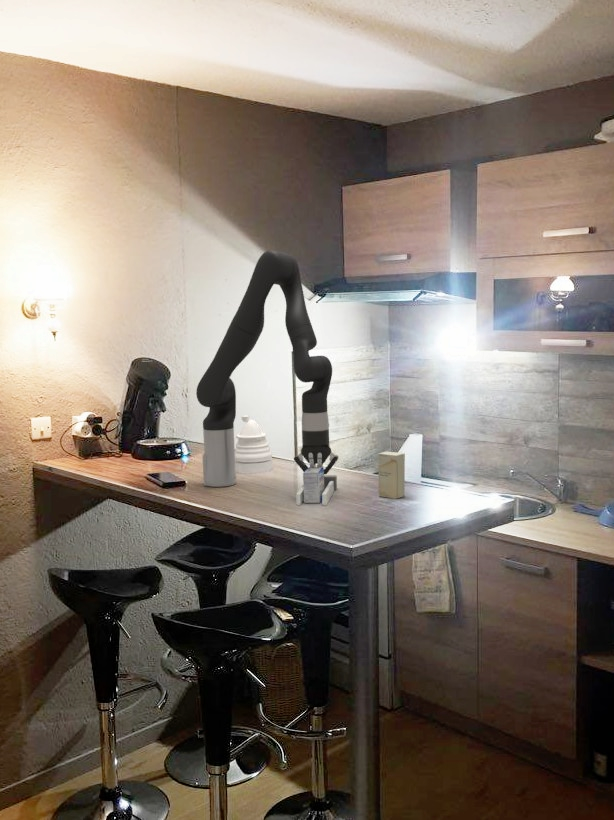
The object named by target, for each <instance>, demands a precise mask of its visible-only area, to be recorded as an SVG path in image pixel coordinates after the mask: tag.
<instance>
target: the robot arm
mask: <svg viewBox="0 0 614 820" xmlns="http://www.w3.org/2000/svg"><path fill="white" fill-rule="evenodd" d="M274 285H276V286H277V285H278V286H279V287H280V289H281V291H282V294H283V295H284V299H285V304H286V306H285V322H284V323H285V329H286V332H287V336H288V337H289V340H290V344H291V346H292V359H293V371H294V374H295V377H296V378H297V379H298V380H299V381H300V382H302V383H312V386H311V388H310V389H308V390H306V391H304V392H302V395H301V409H302V410H301V441H302V442H301V443H302V444H301V446H302V447H301V449H300V453H299V454H297V455H295V456H294V457H293V461H294V462H295V463H296V464H297V465H298V467H299V468H300V469H301V470H302V472H303V473H304V472H305V471H306V470H307V469H308V468H309V467H323V468H324V463H325V462H326V460H327V459H328V458H329V461H330V462H329V463H328V464H327V466H326V467H325V468H324V475H327V474H328V473H329V471H331V469H332V468H333V466H334V465H335V464H336V462H337V461H338V460H339V455H337V454H335V453H333V452H332V448H331V447H330V428H329V427H330V422H329V413H328V393H329V391H330V385H331V381H332V376H333V365H332V363H331V361H330V359H329V358H328V357H327V356H325V355H313V356H310V353H309V351H312V350H313V349H314V348H315V347H316V346H317V344H318V340H317V337H316V334H315V331H314V329H313V325H312V323H311V320H310V316H309V314H308V310H307V305H306V301H305V294H304V291H303V285H302V278H301V273H300V267H299V264H298V261H297V260H296V258H295V257H294V256H293V255H291V254H289V253H286V252H282V251H278V250H272V249H269V250H266V251H264V252H263V253H262V254H261V255H260V257H259V258H258V260H257V261H256V264H255V267H254V269H253V272H252V275H251V277H250V280H249V283H248V285H247V288H246V291H245V292H244V295H243V297H242V299H241V302H240V304H239V306H238V308H237V311H236V312H235V314H234V316H233V318H232V320H231V322H230V324H229V325H228V328H227V331H226V333H225V334H224V337H223V339H222V341H221V343H220V345H219V347H218V349H217V351H216V353H215V355H214V357H213V359H212V361H211V363H210V364H209V366H208V368H207V369H206V370H205V372H204V373H203V375H202V376H201V378H200V380H199V382H198V384H197V386H196V390H195V391H196V399H197V401H198V403H199V404H200V405H201V406H203V407H205V408H209V410H208V414H207V415H206V417H204V419H203V421H202V428H203V429H202V431H203V450H204V451H203V454H202V473H203V474H202V476H203V486H204V487H213V488H216V487H217V488H219V487H223V488H224V487H230V486H233V485H236V484H237V472H236V469H235V449H236V446H235V428H234V427H235V425H234V424H235V423H234V422H235V419H236V417H237V415H236V414H237V413H236V412H237V410H236V409H237V408H236V407H237V404H236V403H237V400H236V399H237V397H236V396H237V395H236V394H237V392H236V386H235V384H234V382H233V380H232V378H231V376H232V374H233V372H234V371H235V370H236V368H237V367H238V366H239V365H240V364H241V363H242V362H243V361H244V360H245V358H247V356H248V355H249V354H250V353H251V352H252V351H253V349H254V348H255V347H256V345H257V342H258V340H259V338H260V336H261V334H262V332H263V330H264V328H265V304H266V300H267V297H268V296H269V293H270V292H271V289H272V288H273V286H274ZM304 460H305V461H306V462H307V464H309V467H308V465H307V464H306V463H305V462H304Z"/></svg>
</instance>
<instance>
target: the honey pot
mask: <svg viewBox="0 0 614 820" xmlns="http://www.w3.org/2000/svg"><path fill="white" fill-rule="evenodd" d="M240 417H241V421H242V422H244V423H245V424H244V426H243V427H242V429H241V432H240V433H238V434H236V435H235V436H236V437H235V438H236V439H237V440H238V441H237V443H236V444H235V469H236V474H237V473H238V474H243V475H244V474H249V475H250V474H262V473H263V474H264V473H268V472H271V471H272V470H273V467H274V466H273V453H272V451H271V448H270V446H269V443H268V440H267V438H266V437H267V434H266V433H264V432H263V430H262V428H261V426H260V425H259V424H258V422H256V421H255V420H254V419H250V416H249V415H241V416H240Z"/></svg>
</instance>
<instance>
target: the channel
mask: <svg viewBox="0 0 614 820" xmlns="http://www.w3.org/2000/svg"><path fill="white" fill-rule="evenodd" d="M337 490H338V476H337V475H336V474H335V475H334V474H332V475H330V474H329V475H327V474H324V492H323V494H322V501H321V502H322V506H327V504H328V502H329V501H330V499H331V498H332V495H333V494H334V492H336V491H337ZM303 502H304V486H303V485H302V486H301V488H300V489H299V490H298V491H297V493H296V506H301V505H302V503H303Z"/></svg>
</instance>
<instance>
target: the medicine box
mask: <svg viewBox="0 0 614 820" xmlns="http://www.w3.org/2000/svg"><path fill="white" fill-rule="evenodd" d="M324 469H325V468H324V466H323V467H317V466H316V467H310V466H309V467H308V469H307V470H306V471H305V472H304V471H303V472H302V480H303V481H302V482H303V483H302V484H303V485H302V486H304V501H303V502H304V504H320V503H321V502H322V494H323V492H324V475H325V474H324Z"/></svg>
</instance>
